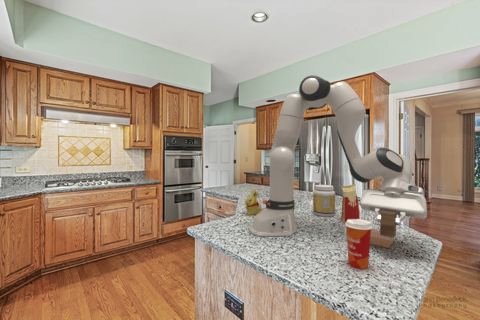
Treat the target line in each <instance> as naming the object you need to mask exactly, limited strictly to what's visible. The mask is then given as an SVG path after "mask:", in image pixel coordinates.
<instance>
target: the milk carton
mask: <svg viewBox="0 0 480 320" xmlns="http://www.w3.org/2000/svg"><path fill="white" fill-rule="evenodd" d="M340 187H341V189H342V190H343V191H342V199H341V201H342V202H341V215H340V222H341V223H343V224H346V222H347V220H348V219H350V220H351V219H355V220H356V219H361V209H360V208H361V207H360V200H359V197H358V195H357V190H356V183H353V184H349V185H341V186H340Z"/></svg>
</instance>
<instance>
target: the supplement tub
mask: <svg viewBox="0 0 480 320" xmlns="http://www.w3.org/2000/svg"><path fill="white" fill-rule="evenodd" d="M334 189H335V188H334V185H332V184H331V185H330V184H314V190H313V191H312V193H313V194H312V195H313V196H312V198H313V200H312V204H313V205H312V207H313V208H312V211H313V214H314V215H316V216H317V217H318V216H319V217H324V218H325V217H326V218H327V217H334V216H335V214H336V191H335V190H334Z"/></svg>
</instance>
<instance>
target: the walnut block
mask: <svg viewBox="0 0 480 320" xmlns="http://www.w3.org/2000/svg"><path fill="white" fill-rule="evenodd" d="M380 216H381V221H380V222H379V223H380V226H379V227H380V228H379V231H380V235H382V236H387V237H391V238H394V239H395V237H396V235H397V225H395V218H398V217H397V216H398V215H397V212H393V211H386V210H383V211H381V212H380Z"/></svg>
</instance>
